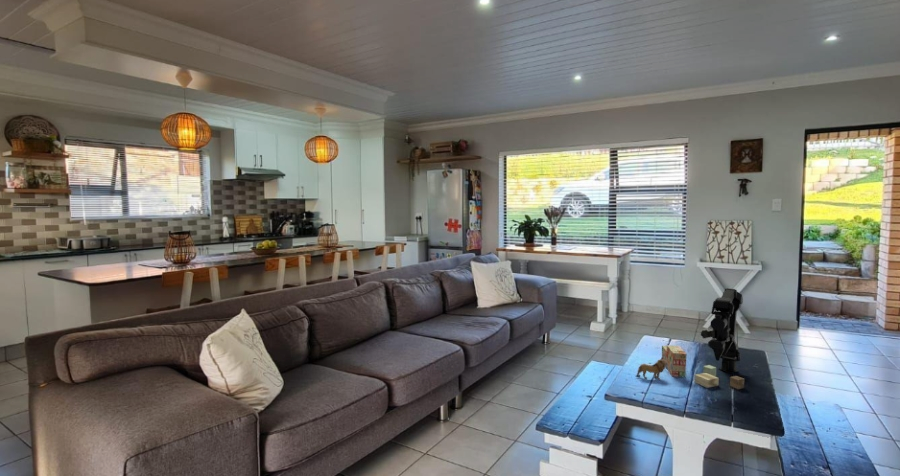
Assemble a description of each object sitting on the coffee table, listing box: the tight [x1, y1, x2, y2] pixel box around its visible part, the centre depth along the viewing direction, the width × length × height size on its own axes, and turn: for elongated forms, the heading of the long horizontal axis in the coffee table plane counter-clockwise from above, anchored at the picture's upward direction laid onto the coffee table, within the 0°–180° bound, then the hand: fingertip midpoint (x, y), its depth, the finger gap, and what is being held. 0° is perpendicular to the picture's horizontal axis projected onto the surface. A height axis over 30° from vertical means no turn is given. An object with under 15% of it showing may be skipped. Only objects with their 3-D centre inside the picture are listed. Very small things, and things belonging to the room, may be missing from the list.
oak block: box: [694, 372, 720, 389], centre depth 216 cm, size 7×7×4 cm
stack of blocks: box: [661, 344, 687, 378], centre depth 235 cm, size 21×6×12 cm, turn 168°
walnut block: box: [729, 375, 745, 390], centre depth 213 cm, size 4×4×4 cm
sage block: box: [702, 364, 717, 377], centre depth 227 cm, size 4×4×4 cm
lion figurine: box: [635, 359, 666, 380], centre depth 224 cm, size 15×5×9 cm, turn 92°
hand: (720, 358), depth 216 cm, fingers open, 9 cm apart
